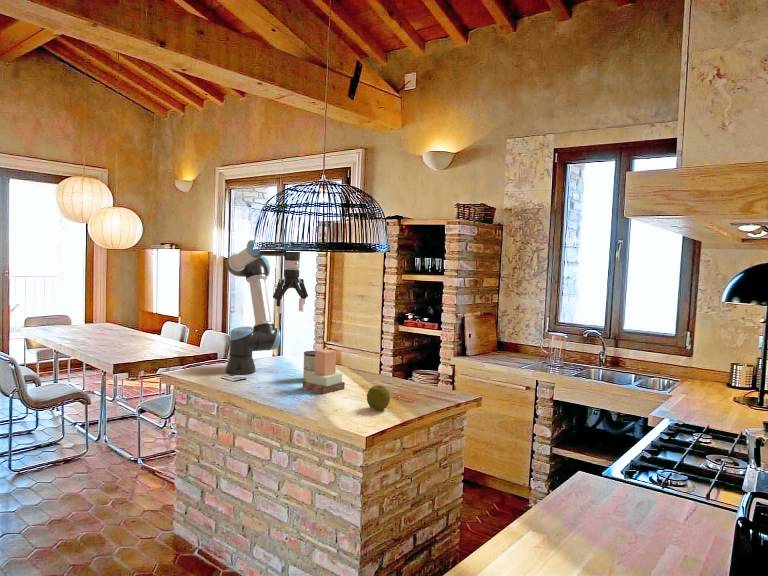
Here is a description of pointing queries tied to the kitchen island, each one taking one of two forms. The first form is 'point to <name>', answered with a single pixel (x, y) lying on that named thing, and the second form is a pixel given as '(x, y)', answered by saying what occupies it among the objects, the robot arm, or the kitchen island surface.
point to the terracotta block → (325, 362)
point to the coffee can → (309, 363)
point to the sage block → (324, 379)
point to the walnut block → (323, 387)
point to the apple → (378, 397)
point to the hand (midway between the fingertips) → (290, 312)
